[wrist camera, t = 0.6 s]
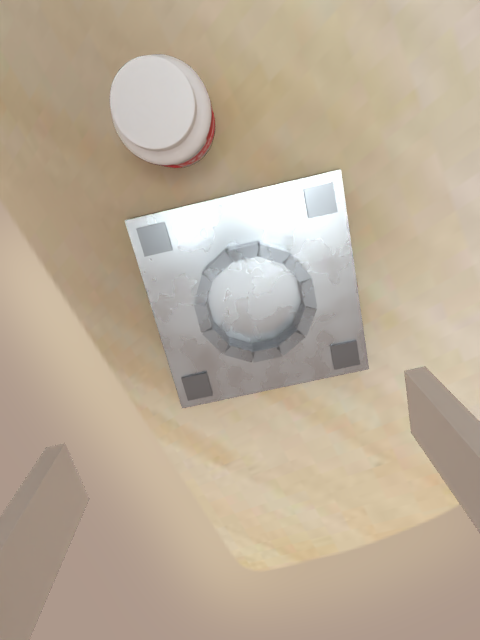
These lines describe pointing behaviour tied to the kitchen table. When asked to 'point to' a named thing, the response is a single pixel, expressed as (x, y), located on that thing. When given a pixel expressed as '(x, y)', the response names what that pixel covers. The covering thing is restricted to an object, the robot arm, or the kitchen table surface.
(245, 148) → the kitchen table surface
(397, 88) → the kitchen table surface
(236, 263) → the duct flange
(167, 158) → the pill bottle
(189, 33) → the kitchen table surface
